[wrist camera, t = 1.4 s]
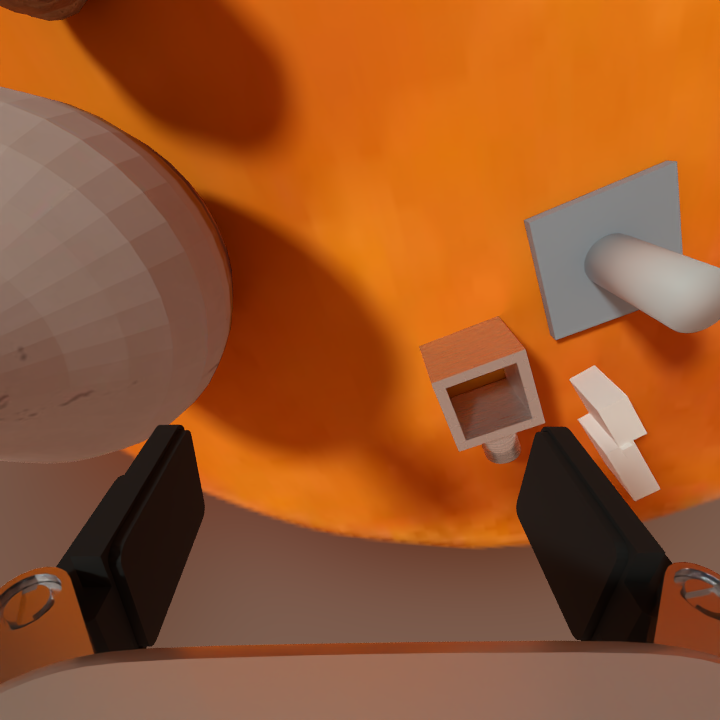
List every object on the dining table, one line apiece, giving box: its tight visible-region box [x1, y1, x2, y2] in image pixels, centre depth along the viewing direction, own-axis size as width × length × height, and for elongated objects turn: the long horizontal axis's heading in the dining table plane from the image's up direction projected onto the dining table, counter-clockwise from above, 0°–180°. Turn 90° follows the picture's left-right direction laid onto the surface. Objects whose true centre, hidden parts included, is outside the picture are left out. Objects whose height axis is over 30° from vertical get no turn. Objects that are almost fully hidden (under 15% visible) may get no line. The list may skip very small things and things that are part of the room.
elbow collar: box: [419, 316, 545, 464], centre depth 34 cm, size 10×7×6 cm, turn 23°
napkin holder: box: [569, 365, 660, 501], centre depth 37 cm, size 15×11×6 cm
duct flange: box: [524, 161, 720, 340], centre depth 28 cm, size 10×10×10 cm
